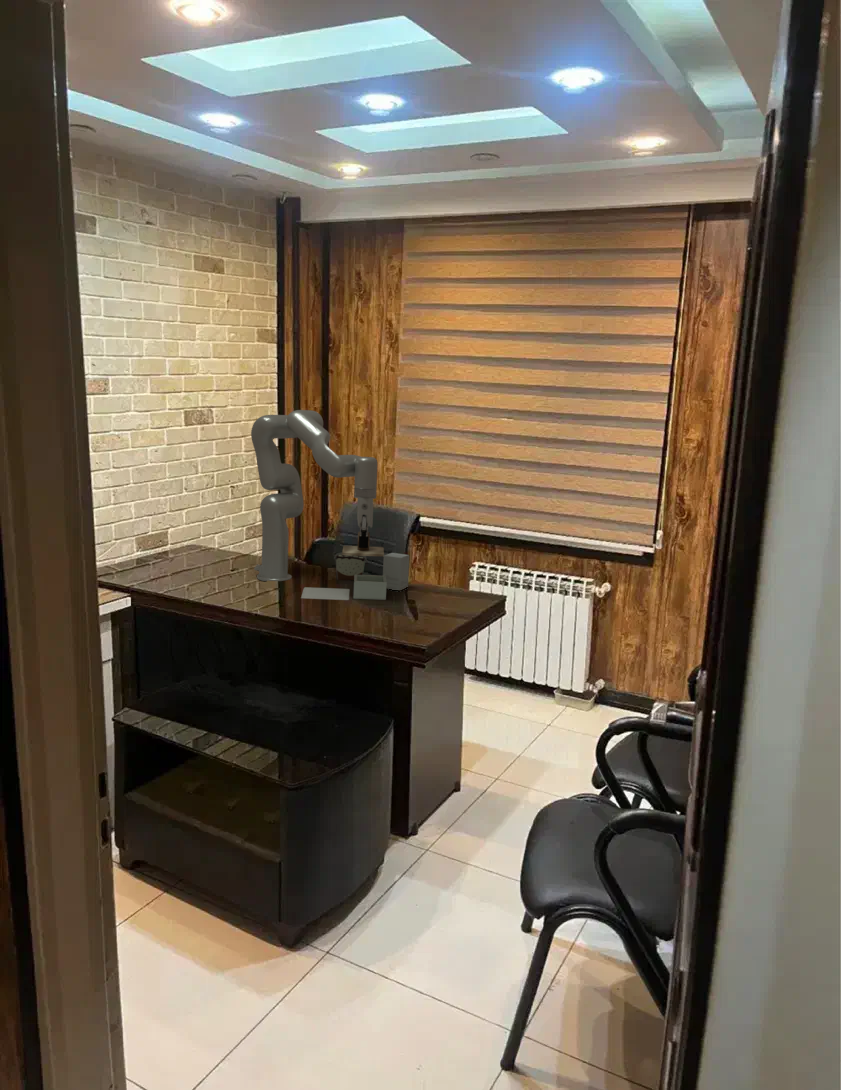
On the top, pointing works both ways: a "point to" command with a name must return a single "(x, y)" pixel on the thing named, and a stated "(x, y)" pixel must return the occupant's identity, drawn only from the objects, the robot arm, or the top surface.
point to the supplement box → (396, 570)
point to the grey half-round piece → (349, 566)
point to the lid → (363, 549)
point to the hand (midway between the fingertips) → (363, 546)
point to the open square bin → (370, 587)
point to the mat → (325, 593)
